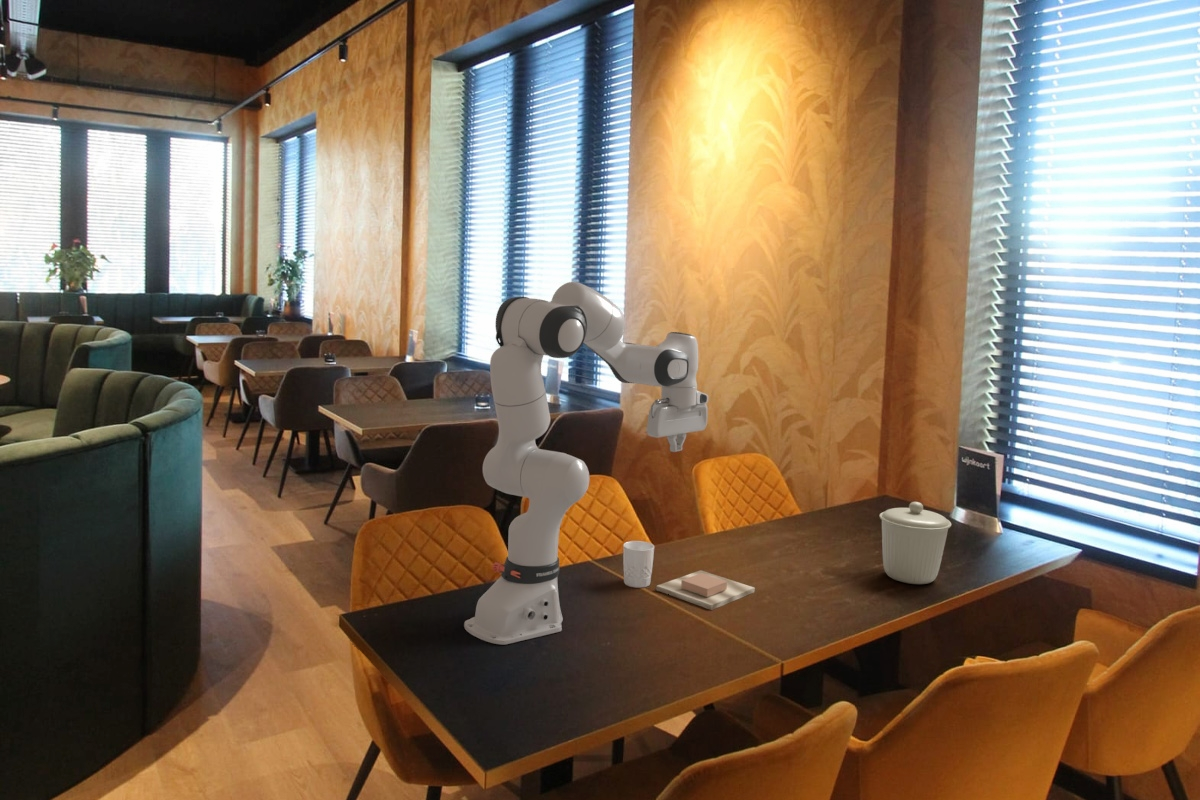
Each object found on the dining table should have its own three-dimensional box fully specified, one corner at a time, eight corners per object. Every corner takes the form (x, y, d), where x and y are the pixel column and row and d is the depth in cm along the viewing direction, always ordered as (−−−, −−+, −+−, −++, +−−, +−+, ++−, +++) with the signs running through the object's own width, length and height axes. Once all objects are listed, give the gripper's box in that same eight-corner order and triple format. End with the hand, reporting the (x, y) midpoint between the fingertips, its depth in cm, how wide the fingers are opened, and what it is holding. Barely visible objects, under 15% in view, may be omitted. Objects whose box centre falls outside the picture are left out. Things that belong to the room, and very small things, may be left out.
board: (711, 610, 201) (711, 605, 201) (656, 590, 213) (656, 585, 213) (754, 592, 214) (754, 587, 214) (700, 574, 226) (700, 570, 225)
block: (726, 590, 211) (707, 598, 205) (700, 581, 217) (681, 589, 211) (727, 581, 211) (707, 589, 205) (701, 573, 216) (681, 580, 210)
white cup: (650, 590, 213) (652, 551, 211) (619, 586, 214) (620, 548, 213) (654, 579, 220) (656, 542, 219) (624, 576, 222) (626, 539, 220)
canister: (956, 580, 229) (964, 503, 227) (927, 595, 217) (935, 515, 214) (893, 562, 242) (899, 490, 239) (862, 576, 229) (868, 500, 226)
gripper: (661, 401, 204) (659, 458, 206) (712, 395, 219) (709, 448, 221) (642, 398, 208) (639, 453, 210) (693, 392, 223) (690, 444, 225)
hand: (675, 451), depth 215 cm, fingers closed
